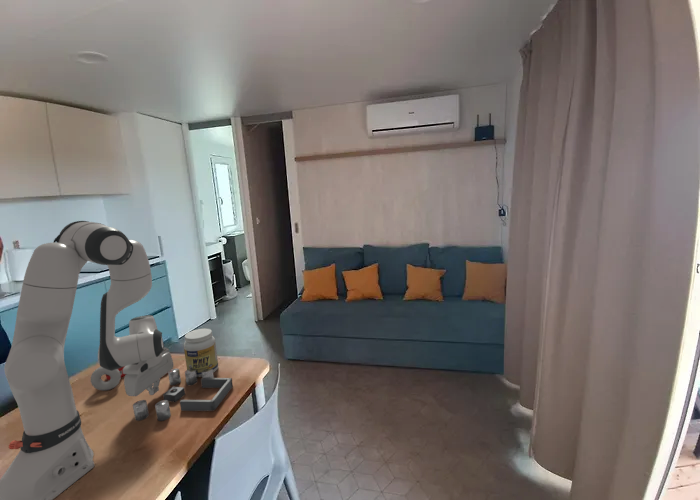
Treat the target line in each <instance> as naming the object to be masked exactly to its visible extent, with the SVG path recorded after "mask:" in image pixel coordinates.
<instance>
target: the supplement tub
mask: <svg viewBox="0 0 700 500" xmlns="http://www.w3.org/2000/svg"><path fill="white" fill-rule="evenodd" d="M183 351H184V352H183V353H184V358H185V365H186V370H188V369H196V374H197V378H202V371H203V370H205V369H209V368H211V369H213V374H214V373H215V372H216V371H217V370H218V369H219V362H218V361H219V360H218V354H217V353H218V352H217V344H216V338H215V337H214V336H213V331H212V329H211V328H198V329H197V328H196V329H194V330H192V331H189V332H187V333H186V334H185V335H184V343H183Z"/></svg>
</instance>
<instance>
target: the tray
mask: <svg viewBox="0 0 700 500" xmlns="http://www.w3.org/2000/svg"><path fill="white" fill-rule="evenodd" d="M200 383H201V388H202V389H203V388H205V389H218V388H219V390H218V391H217V393H216V394H215V395H214V396H213V397H212V399H180V400H179V403H180V404H179V406H180V410H181V411H184V412H185V411H186V412H189V411H190V412H215V411H216V410H217V408H218V406H219V405H221V403H222V402H223V400H224V398H225V397H226V396H227V395H228V393H230V391H231V390H232V388H233V385H234V384H233V378H232V377H214V378H202V377H201V379H200Z"/></svg>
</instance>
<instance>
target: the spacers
mask: <svg viewBox="0 0 700 500" xmlns="http://www.w3.org/2000/svg"><path fill="white" fill-rule="evenodd" d="M167 375H168V381H169V385H170V386H177V385H179V384H181V382H182V380H181V373H180V369H179V368H173V369H171V370H170V371H169V372H168V373H167ZM184 376H185V384H186V386H194V385H196V384H197V383H198V377H197V374H196V369H188V370H187V369H186V370H185V371H184ZM202 378H215V376H214V373H213V369H211V368H209V369H205V370H203V371H202V377H201V379H202ZM154 407H155V413H156V419H157V421H158V422H164V421H166V420H168V419H169V418H171V417H172V415H171V414H172V413H171V410H170V409H171V408H170V407H171V406H170V402H169V401H168V400H164V399H163V400H160V401H158V402H156V403H155V405H154ZM132 410H133V414H134V420H135V421H137V422H139V421H143V420H146V419H147V418H148V417H149V416H150V414H149V408H148V403H147V400H146V399H141V400H137V401H136V402H134V403H133V404H132Z"/></svg>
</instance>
